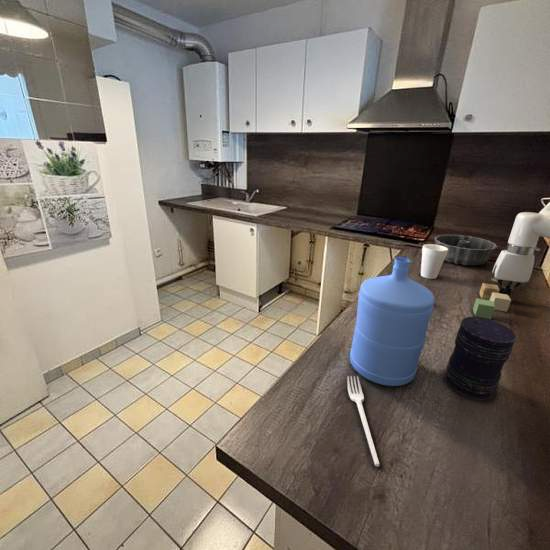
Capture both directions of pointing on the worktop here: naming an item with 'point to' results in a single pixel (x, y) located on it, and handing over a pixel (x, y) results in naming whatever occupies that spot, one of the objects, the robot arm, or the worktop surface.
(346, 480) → the worktop surface
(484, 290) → the maple block
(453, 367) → the dark blue cylinder
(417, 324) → the water jug
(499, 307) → the beige block
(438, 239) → the bundt pan
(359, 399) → the fork
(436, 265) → the foam cup
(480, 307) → the sage block
